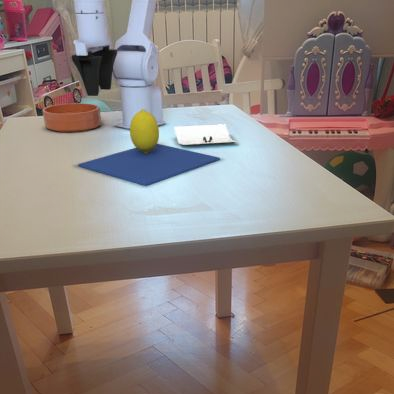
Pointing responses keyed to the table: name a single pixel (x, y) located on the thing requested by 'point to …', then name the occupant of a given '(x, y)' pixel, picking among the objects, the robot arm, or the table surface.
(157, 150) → the cloth
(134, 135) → the lemon
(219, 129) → the white square plate
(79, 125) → the bowl
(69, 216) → the table surface
